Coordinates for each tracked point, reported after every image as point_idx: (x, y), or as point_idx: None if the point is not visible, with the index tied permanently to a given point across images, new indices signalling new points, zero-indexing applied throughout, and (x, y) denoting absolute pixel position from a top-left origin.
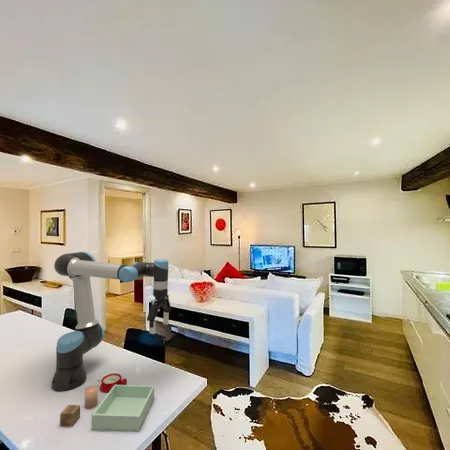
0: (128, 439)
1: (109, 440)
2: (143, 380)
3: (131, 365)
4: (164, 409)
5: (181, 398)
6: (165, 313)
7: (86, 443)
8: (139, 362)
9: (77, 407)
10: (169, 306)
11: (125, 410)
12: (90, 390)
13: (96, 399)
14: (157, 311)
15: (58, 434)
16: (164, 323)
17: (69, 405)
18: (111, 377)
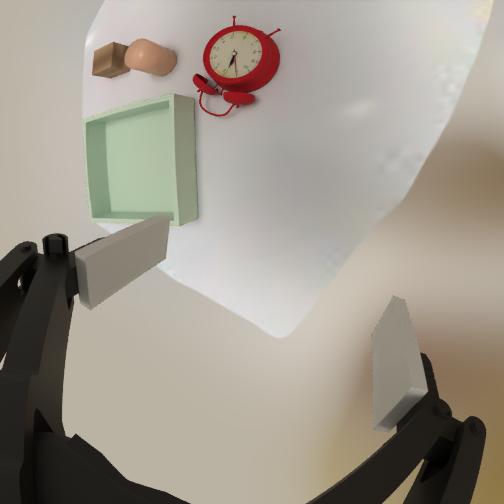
0: None
1: None
2: (285, 152)
3: (387, 74)
4: None
5: (206, 289)
6: (392, 397)
7: None
8: (414, 100)
9: (106, 67)
10: (410, 496)
11: (144, 161)
12: (131, 56)
13: (152, 73)
14: (57, 384)
15: None
16: (388, 310)
17: (111, 45)
18: (246, 47)
